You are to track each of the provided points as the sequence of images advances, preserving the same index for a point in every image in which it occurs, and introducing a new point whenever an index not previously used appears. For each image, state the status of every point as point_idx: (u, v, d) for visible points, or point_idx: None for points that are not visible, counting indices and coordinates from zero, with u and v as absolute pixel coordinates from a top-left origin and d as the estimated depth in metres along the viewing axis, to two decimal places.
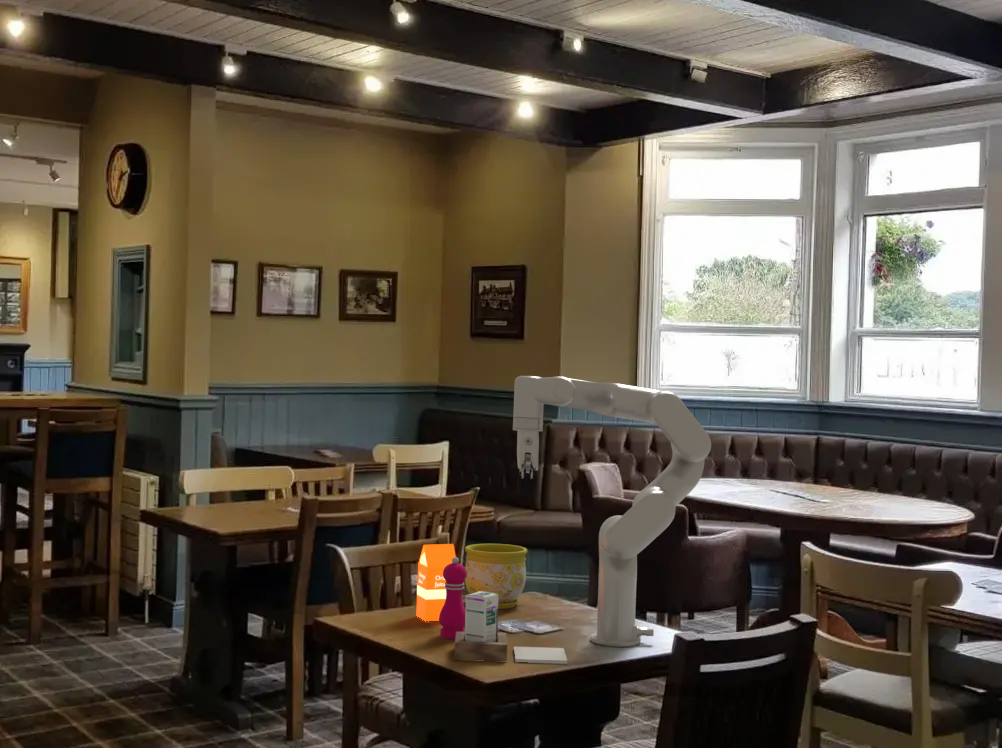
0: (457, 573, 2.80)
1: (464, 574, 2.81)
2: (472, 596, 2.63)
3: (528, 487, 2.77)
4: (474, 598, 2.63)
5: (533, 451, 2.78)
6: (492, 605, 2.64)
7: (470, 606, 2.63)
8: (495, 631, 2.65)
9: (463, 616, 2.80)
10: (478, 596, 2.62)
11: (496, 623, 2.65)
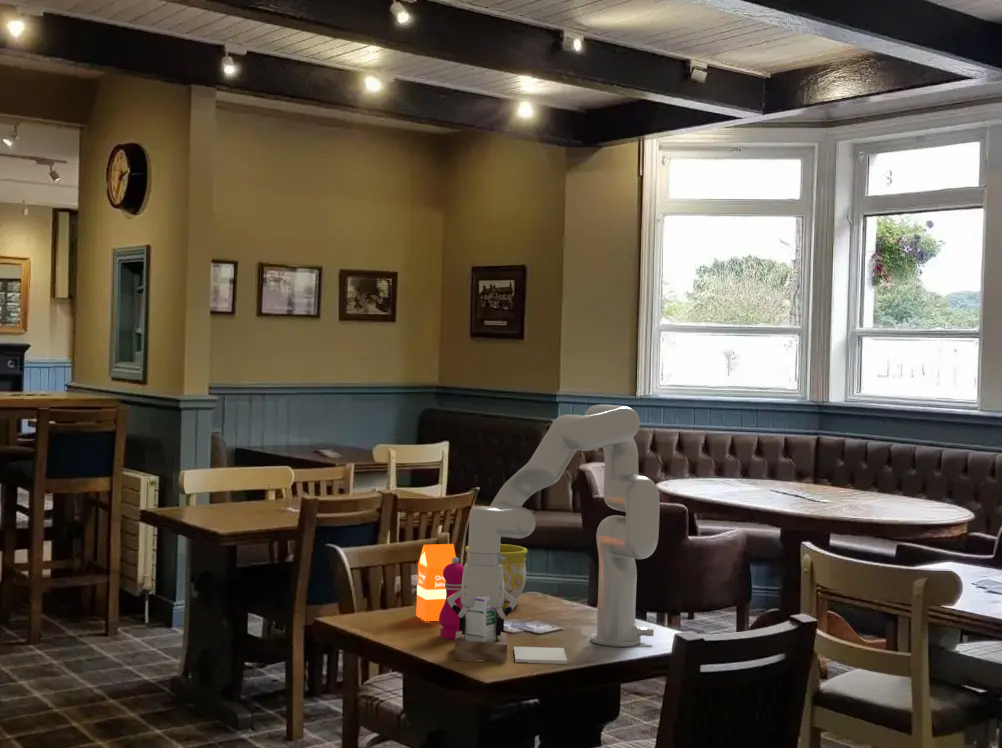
0: (457, 573, 2.80)
1: None
2: None
3: None
4: None
5: None
6: None
7: None
8: (495, 631, 2.65)
9: None
10: (478, 596, 2.62)
11: (496, 623, 2.65)
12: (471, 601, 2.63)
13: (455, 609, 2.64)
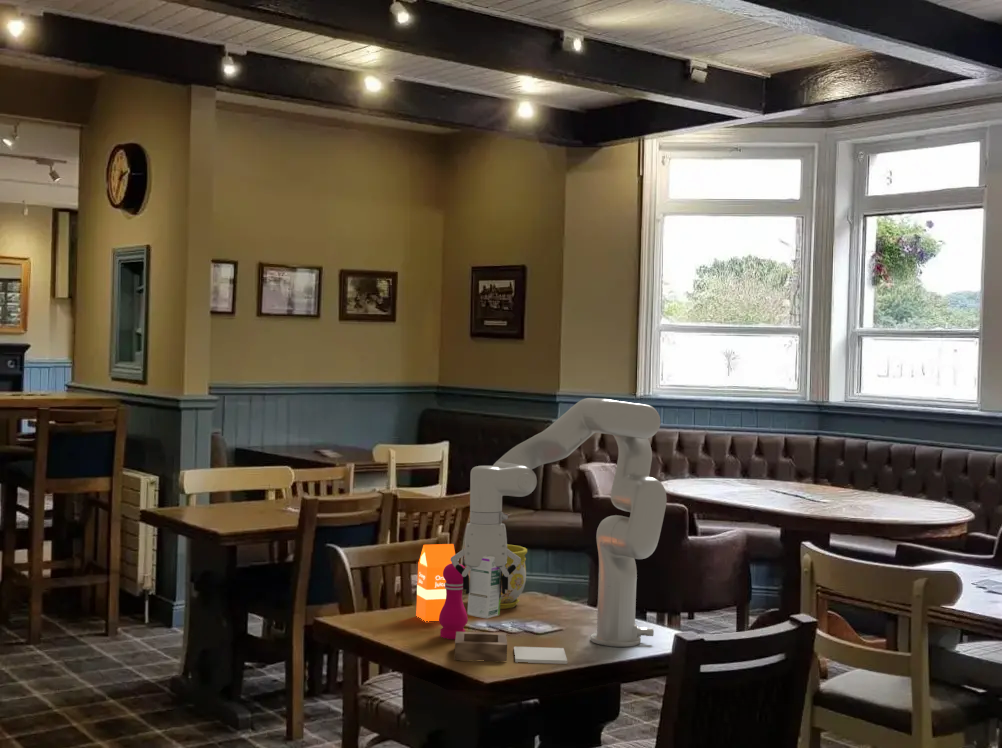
0: (457, 573, 2.80)
1: None
2: None
3: None
4: None
5: None
6: None
7: None
8: (499, 592, 2.65)
9: (463, 616, 2.80)
10: (484, 556, 2.63)
11: (500, 584, 2.66)
12: (474, 560, 2.63)
13: (458, 568, 2.64)
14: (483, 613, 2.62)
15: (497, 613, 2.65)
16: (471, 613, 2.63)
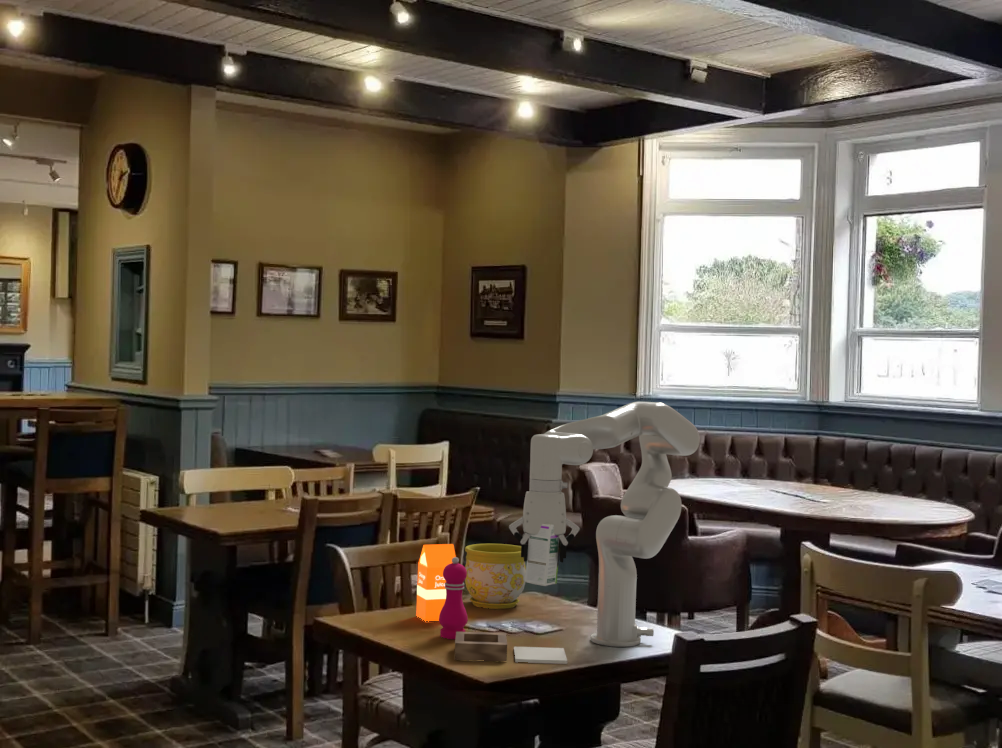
0: (457, 573, 2.80)
1: (464, 574, 2.81)
2: None
3: None
4: None
5: None
6: None
7: None
8: (556, 560, 2.65)
9: (463, 616, 2.80)
10: (543, 523, 2.63)
11: (558, 552, 2.66)
12: (533, 528, 2.63)
13: (517, 536, 2.64)
14: (542, 581, 2.62)
15: (555, 581, 2.65)
16: (529, 580, 2.63)
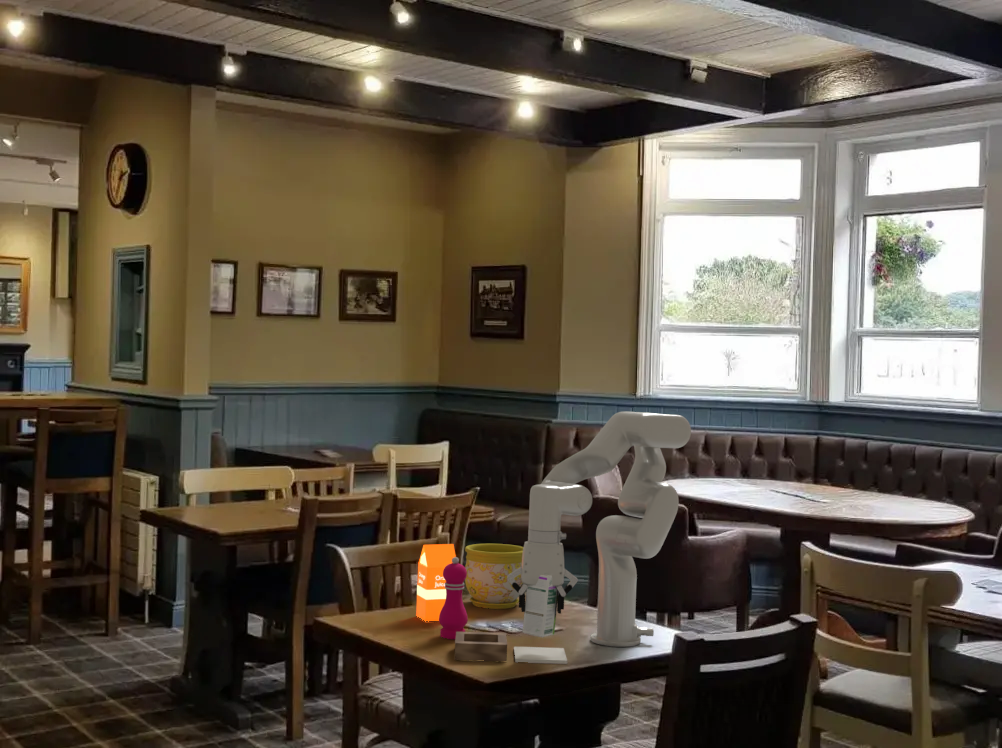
0: (457, 573, 2.80)
1: (464, 574, 2.81)
2: None
3: None
4: None
5: None
6: None
7: None
8: (554, 611, 2.65)
9: (463, 616, 2.80)
10: (541, 574, 2.63)
11: (556, 603, 2.65)
12: (532, 579, 2.63)
13: (515, 586, 2.64)
14: (539, 632, 2.61)
15: (552, 632, 2.65)
16: (526, 631, 2.63)
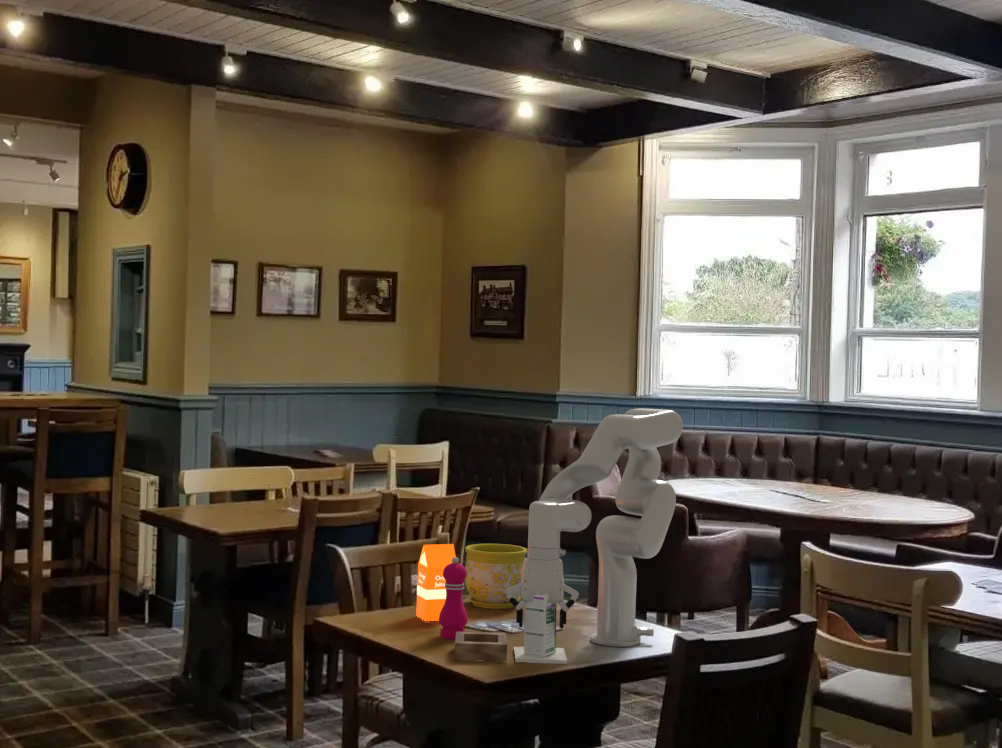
0: (457, 573, 2.80)
1: (464, 574, 2.81)
2: None
3: None
4: None
5: None
6: (551, 603, 2.64)
7: (530, 604, 2.63)
8: (554, 629, 2.65)
9: (463, 616, 2.80)
10: (538, 594, 2.62)
11: (555, 621, 2.65)
12: (531, 595, 2.63)
13: (512, 602, 2.64)
14: (540, 652, 2.62)
15: (553, 650, 2.65)
16: (528, 652, 2.63)
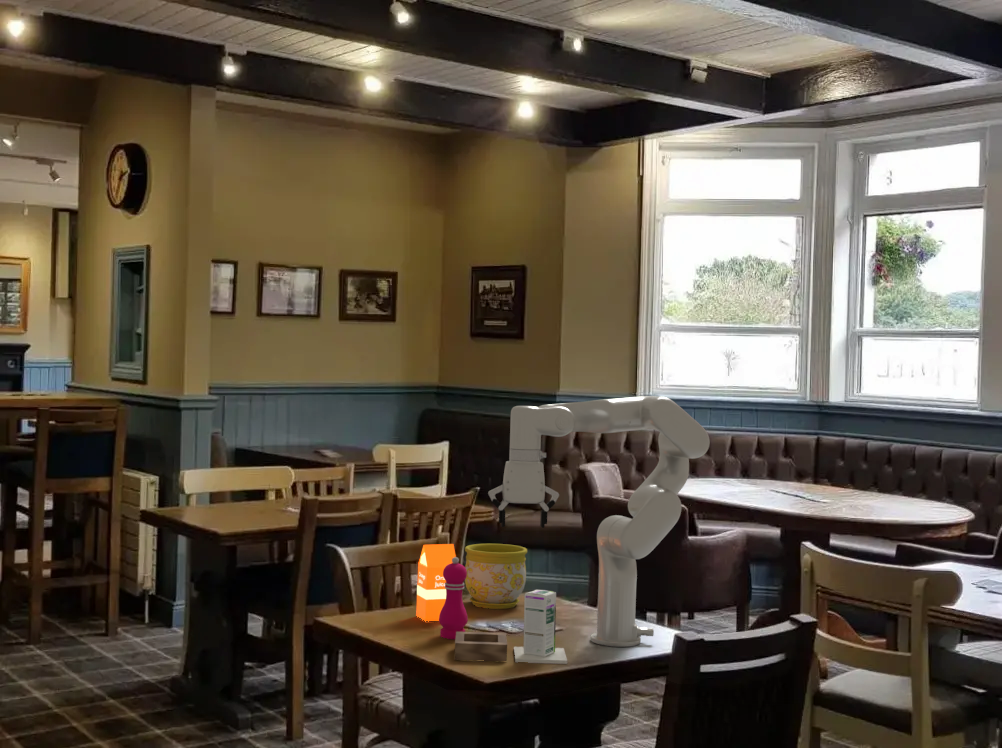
0: (457, 573, 2.80)
1: (464, 574, 2.81)
2: (531, 594, 2.63)
3: None
4: (533, 596, 2.63)
5: None
6: (551, 603, 2.64)
7: (529, 604, 2.63)
8: (553, 629, 2.65)
9: (463, 616, 2.80)
10: (538, 594, 2.62)
11: (554, 621, 2.65)
12: (513, 496, 2.72)
13: (495, 502, 2.73)
14: (540, 652, 2.62)
15: (553, 650, 2.65)
16: (527, 652, 2.63)
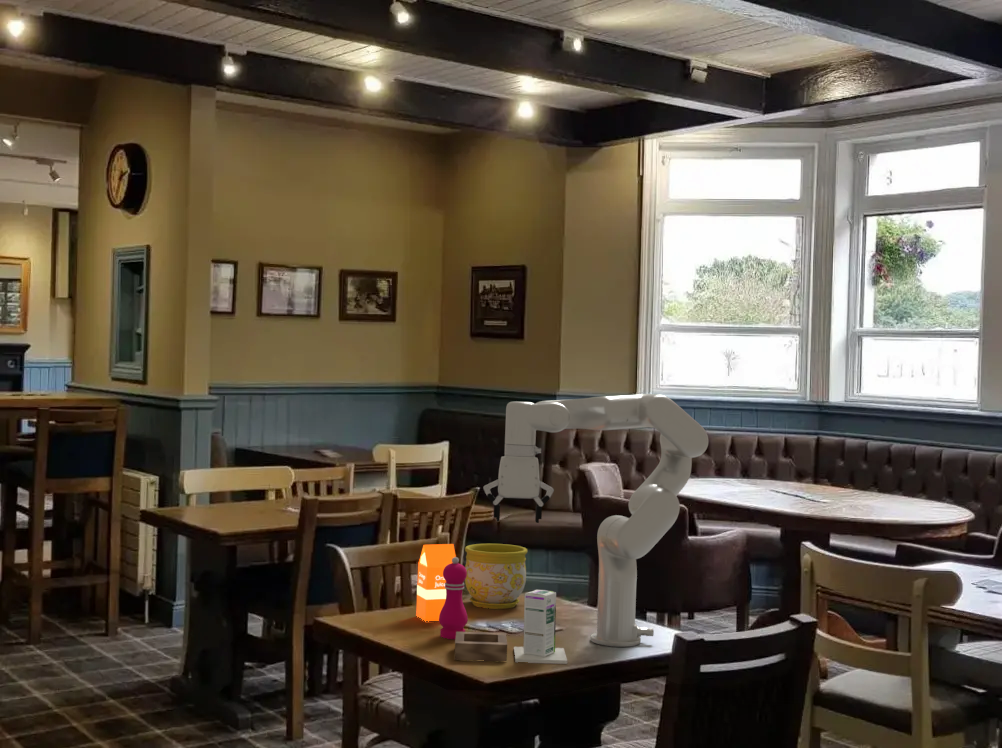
0: (457, 573, 2.80)
1: (464, 574, 2.81)
2: (531, 594, 2.63)
3: None
4: (533, 596, 2.63)
5: None
6: (551, 603, 2.64)
7: (529, 604, 2.63)
8: (553, 629, 2.65)
9: (463, 616, 2.80)
10: (538, 594, 2.62)
11: (554, 621, 2.65)
12: (508, 491, 2.74)
13: (490, 497, 2.75)
14: (540, 652, 2.62)
15: (553, 650, 2.65)
16: (527, 652, 2.63)
